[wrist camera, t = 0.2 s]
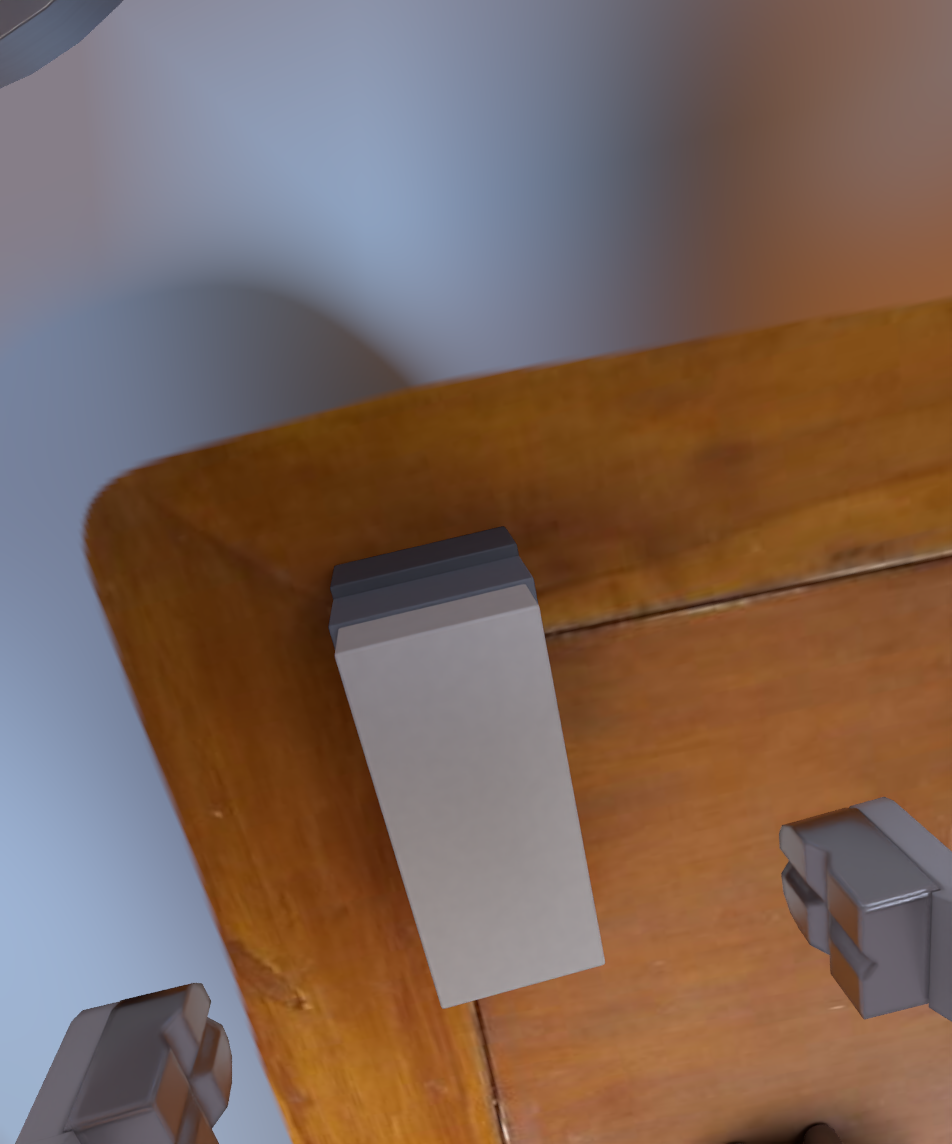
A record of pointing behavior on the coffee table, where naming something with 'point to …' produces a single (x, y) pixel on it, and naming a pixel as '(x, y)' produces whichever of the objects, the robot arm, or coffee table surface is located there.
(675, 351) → the coffee table surface
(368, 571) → the dark grey box
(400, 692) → the pale grey rectangular block
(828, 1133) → the piggy bank
